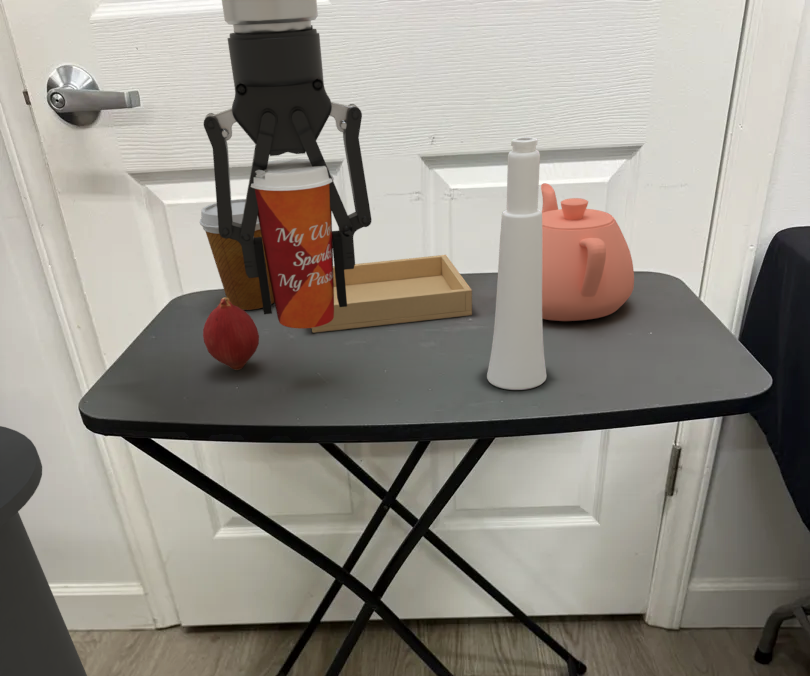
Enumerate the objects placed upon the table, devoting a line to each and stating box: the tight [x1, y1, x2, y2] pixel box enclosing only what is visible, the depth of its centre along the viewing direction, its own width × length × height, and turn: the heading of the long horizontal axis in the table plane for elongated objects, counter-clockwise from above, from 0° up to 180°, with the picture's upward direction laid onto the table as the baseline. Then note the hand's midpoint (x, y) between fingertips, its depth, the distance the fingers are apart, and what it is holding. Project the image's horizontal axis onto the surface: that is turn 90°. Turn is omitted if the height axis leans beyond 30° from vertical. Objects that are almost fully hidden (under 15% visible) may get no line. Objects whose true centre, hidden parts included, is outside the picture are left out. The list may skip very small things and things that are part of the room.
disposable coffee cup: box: [199, 198, 275, 311], centre depth 99 cm, size 10×10×12 cm
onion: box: [202, 296, 260, 371], centre depth 83 cm, size 6×6×8 cm
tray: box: [311, 254, 473, 334], centre depth 99 cm, size 20×16×3 cm
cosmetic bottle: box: [486, 136, 548, 391], centre depth 72 cm, size 6×6×22 cm
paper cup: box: [251, 158, 335, 329], centre depth 73 cm, size 8×8×14 cm
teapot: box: [540, 183, 635, 322], centre depth 92 cm, size 22×15×12 cm
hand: (305, 305), depth 76 cm, fingers closed on paper cup, 7 cm apart
